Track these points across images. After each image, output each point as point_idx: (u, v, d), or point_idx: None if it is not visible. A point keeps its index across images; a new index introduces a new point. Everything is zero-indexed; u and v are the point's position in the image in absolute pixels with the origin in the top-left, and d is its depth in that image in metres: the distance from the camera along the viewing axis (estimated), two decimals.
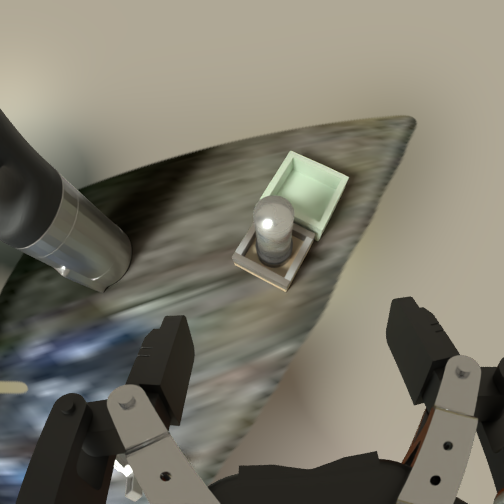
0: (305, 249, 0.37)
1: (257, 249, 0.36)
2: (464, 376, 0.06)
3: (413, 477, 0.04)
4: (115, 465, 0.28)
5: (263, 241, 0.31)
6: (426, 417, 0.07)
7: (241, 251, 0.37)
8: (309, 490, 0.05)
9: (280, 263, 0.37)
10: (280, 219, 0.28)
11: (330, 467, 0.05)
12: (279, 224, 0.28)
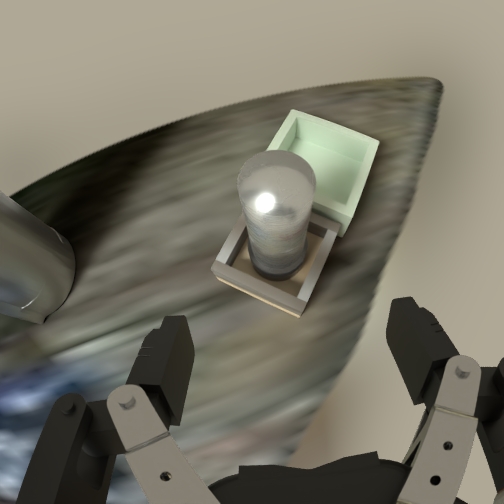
0: (327, 249, 0.23)
1: (250, 253, 0.22)
2: (464, 376, 0.06)
3: (413, 477, 0.04)
4: None
5: (259, 237, 0.17)
6: (426, 417, 0.07)
7: (225, 258, 0.23)
8: (309, 490, 0.05)
9: (289, 274, 0.23)
10: (290, 190, 0.14)
11: (330, 467, 0.05)
12: (288, 200, 0.14)
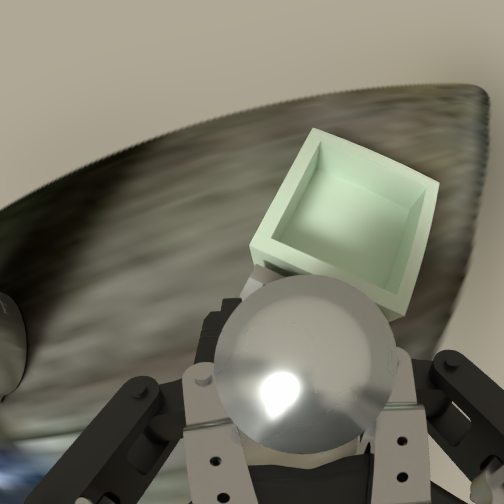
0: None
1: None
2: None
3: (413, 477, 0.04)
4: None
5: None
6: None
7: None
8: (309, 490, 0.05)
9: None
10: (339, 393, 0.06)
11: (330, 467, 0.05)
12: (333, 417, 0.05)
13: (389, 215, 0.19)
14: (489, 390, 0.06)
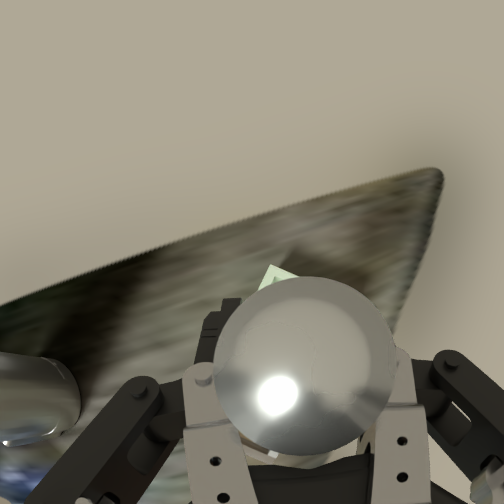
0: None
1: None
2: None
3: (413, 477, 0.04)
4: None
5: None
6: None
7: None
8: (309, 490, 0.05)
9: None
10: (338, 394, 0.06)
11: (330, 467, 0.05)
12: (333, 418, 0.05)
13: None
14: (489, 390, 0.06)
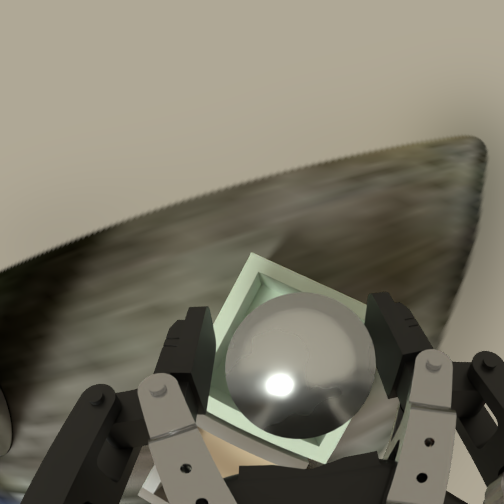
0: None
1: None
2: (434, 370, 0.07)
3: (413, 477, 0.04)
4: None
5: None
6: (401, 413, 0.08)
7: (153, 488, 0.13)
8: (309, 490, 0.05)
9: None
10: (327, 389, 0.07)
11: (330, 467, 0.05)
12: (322, 408, 0.07)
13: None
14: None
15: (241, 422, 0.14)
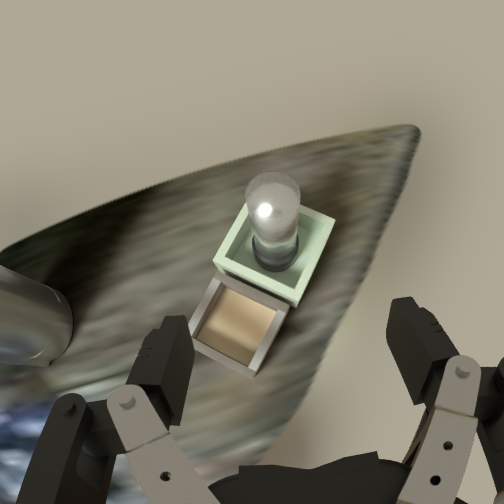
0: (276, 327, 0.27)
1: (254, 248, 0.29)
2: (464, 376, 0.06)
3: (413, 477, 0.04)
4: None
5: (260, 234, 0.24)
6: (426, 417, 0.07)
7: (191, 332, 0.27)
8: (309, 490, 0.05)
9: (284, 266, 0.29)
10: (282, 201, 0.21)
11: (330, 467, 0.05)
12: (280, 207, 0.21)
13: (305, 239, 0.31)
14: None
15: (249, 274, 0.28)
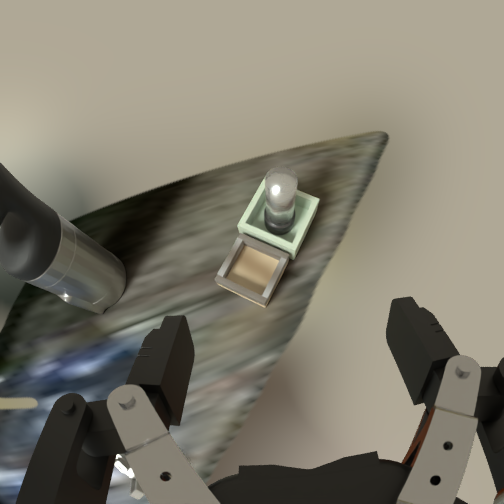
0: (280, 269, 0.41)
1: (265, 217, 0.43)
2: (464, 376, 0.06)
3: (413, 477, 0.04)
4: (120, 468, 0.31)
5: (272, 204, 0.38)
6: (426, 417, 0.07)
7: (222, 273, 0.41)
8: (309, 490, 0.05)
9: (284, 230, 0.43)
10: (286, 184, 0.35)
11: (330, 467, 0.05)
12: (285, 187, 0.35)
13: (299, 213, 0.45)
14: None
15: (262, 233, 0.42)
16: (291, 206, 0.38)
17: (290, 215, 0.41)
